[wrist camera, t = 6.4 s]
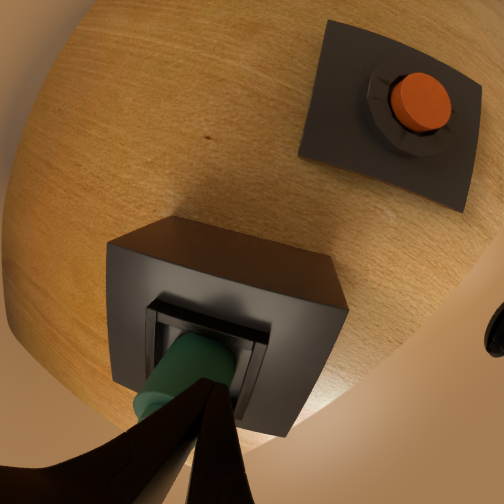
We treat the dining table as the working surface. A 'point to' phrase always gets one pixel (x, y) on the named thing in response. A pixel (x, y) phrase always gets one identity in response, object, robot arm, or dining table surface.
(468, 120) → the control
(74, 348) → the dining table surface
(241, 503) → the robot arm
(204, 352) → the bottle
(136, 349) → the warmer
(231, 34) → the dining table surface
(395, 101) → the button
